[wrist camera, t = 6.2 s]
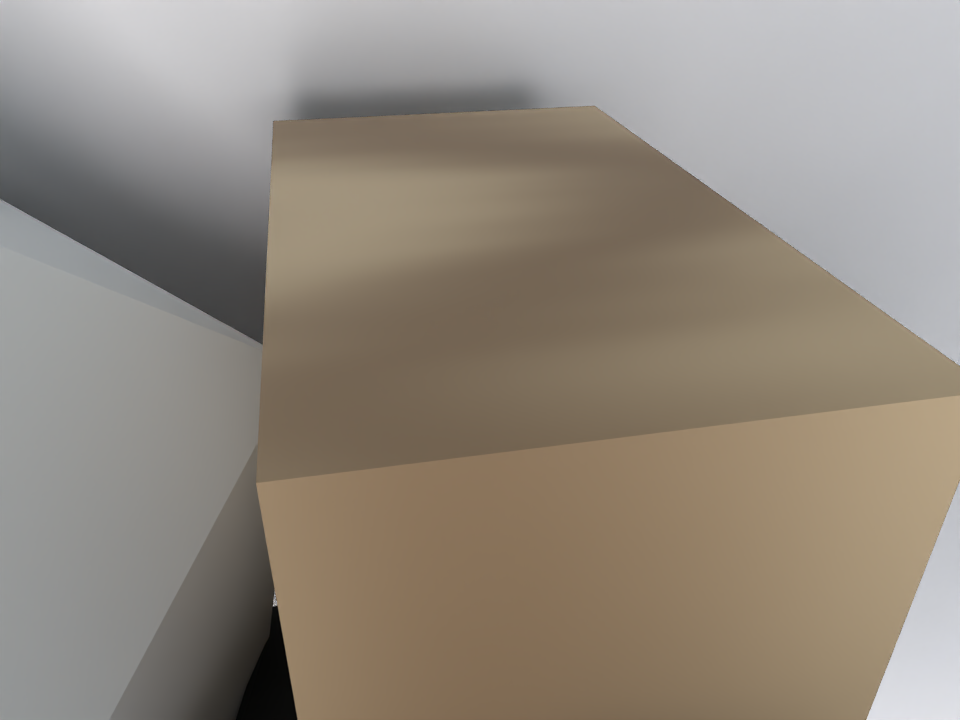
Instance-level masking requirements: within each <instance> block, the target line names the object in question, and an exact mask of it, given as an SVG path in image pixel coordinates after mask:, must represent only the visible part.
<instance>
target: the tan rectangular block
mask: <svg viewBox="0 0 960 720" xmlns="http://www.w3.org/2000/svg"><path fill="white" fill-rule="evenodd" d="M959 481H960V366H959V365H957V364H956V363H955V362H953V361H952V360H950V359H949V358H948V357H946V356H945V355H943V354H942V353H941V352H939V351H938V350H936V349H935V348H934V347H932V346H931V345H929V344H928V343H927V342H925V341H924V340H922V339H921V338H920V337H918V336H917V335H915V334H914V333H913V332H911V331H910V330H908V329H907V328H906V327H904V326H903V325H901V324H900V323H899V322H897V321H896V320H894V319H893V318H892V317H890V316H889V315H887V314H886V313H885V312H883V311H882V310H880V309H879V308H877V307H876V306H875V305H873V304H872V303H870V302H869V301H868V300H866V299H865V298H863V297H862V296H861V295H859V294H858V293H856V292H855V291H854V290H852V289H851V288H849V287H848V286H847V285H845V284H844V283H842V282H841V281H840V280H838V279H837V278H835V277H834V276H833V275H831V274H830V273H828V272H827V271H826V270H824V269H823V268H821V267H820V266H819V265H817V264H816V263H814V262H813V261H812V260H810V259H809V258H807V257H806V256H805V255H803V254H802V253H800V252H799V251H798V250H796V249H795V248H793V247H792V246H791V245H789V244H788V243H786V242H785V241H783V240H782V239H781V238H779V237H778V236H776V235H775V234H774V233H772V232H771V231H769V230H768V229H767V228H765V227H764V226H762V225H761V224H760V223H758V222H757V221H755V220H754V219H753V218H751V217H750V216H748V215H747V214H746V213H744V212H743V211H741V210H740V209H739V208H737V207H736V206H734V205H733V204H732V203H730V202H729V201H727V200H726V199H725V198H723V197H722V196H720V195H719V194H718V193H716V192H715V191H713V190H712V189H711V188H709V187H708V186H706V185H705V184H704V183H702V182H701V181H699V180H698V179H697V178H695V177H694V176H692V175H691V174H689V173H688V172H687V171H685V170H684V169H682V168H681V167H680V166H678V165H677V164H675V163H674V162H673V161H671V160H670V159H668V158H667V157H666V156H664V155H663V154H661V153H660V152H659V151H657V150H656V149H654V148H653V147H652V146H650V145H649V144H647V143H646V142H645V141H643V140H642V139H640V138H639V137H638V136H636V135H635V134H633V133H632V132H631V131H629V130H628V129H626V128H625V127H624V126H622V125H621V124H619V123H618V122H617V121H615V120H614V119H612V118H611V117H610V116H608V115H607V114H605V113H604V112H603V111H601V110H600V109H598V108H597V107H595V106H582V107H561V108H539V109H518V110H497V111H475V112H454V113H433V114H412V115H390V116H369V117H348V118H326V119H305V120H284V121H273V140H272V161H271V182H270V202H269V223H268V244H267V264H266V285H265V306H264V326H263V347H262V368H261V388H260V409H259V430H258V450H257V471H256V486H257V492H258V498H259V503H260V509H261V515H262V520H263V526H264V532H265V537H266V543H267V549H268V554H269V560H270V566H271V571H272V577H273V583H274V588H275V594H276V600H277V605H278V611H279V617H280V622H281V628H282V634H283V639H284V645H285V651H286V657H287V662H288V668H289V674H290V679H291V685H292V691H293V696H294V702H295V708H296V713H297V719H298V720H866V719H867V716H868V714H869V711H870V709H871V706H872V704H873V701H874V698H875V696H876V693H877V691H878V688H879V686H880V683H881V681H882V678H883V675H884V673H885V670H886V668H887V665H888V663H889V660H890V657H891V655H892V652H893V650H894V647H895V645H896V642H897V640H898V637H899V634H900V632H901V629H902V627H903V624H904V622H905V619H906V617H907V614H908V611H909V609H910V606H911V604H912V601H913V599H914V596H915V593H916V591H917V588H918V586H919V583H920V581H921V578H922V576H923V573H924V570H925V568H926V565H927V563H928V560H929V558H930V555H931V552H932V550H933V547H934V545H935V542H936V540H937V537H938V535H939V532H940V529H941V527H942V524H943V522H944V519H945V517H946V514H947V512H948V509H949V506H950V504H951V501H952V499H953V496H954V494H955V491H956V488H957V486H958V483H959Z"/></svg>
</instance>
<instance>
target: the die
mask: <svg viewBox="0 0 960 720" xmlns="http://www.w3.org/2000/svg"><path fill="white" fill-rule="evenodd" d="M262 347H263V345H262V344H261V343H259V342H257V341H255V340H253V339H252V338H250V337H248V336H246V335H244V334H243V333H241V332H239V331H237V330H235V329H234V328H232V327H230V326H228V325H226V324H225V323H223V322H221V321H219V320H217V319H216V318H214V317H212V316H210V315H208V314H207V313H205V312H203V311H201V310H199V309H198V308H196V307H194V306H192V305H190V304H189V303H187V302H185V301H183V300H181V299H180V298H178V297H176V296H174V295H172V294H171V293H169V292H167V291H165V290H163V289H162V288H160V287H158V286H156V285H154V284H153V283H151V282H149V281H147V280H145V279H144V278H142V277H140V276H138V275H136V274H134V273H133V272H131V271H129V270H127V269H125V268H124V267H122V266H120V265H118V264H116V263H115V262H113V261H111V260H109V259H107V258H106V257H104V256H102V255H100V254H98V253H97V252H95V251H93V250H91V249H89V248H88V247H86V246H84V245H82V244H80V243H79V242H77V241H75V240H73V239H71V238H70V237H68V236H66V235H64V234H62V233H61V232H59V231H57V230H55V229H53V228H52V227H50V226H48V225H46V224H44V223H43V222H41V221H39V220H37V219H35V218H34V217H32V216H30V215H28V214H26V213H25V212H23V211H21V210H19V209H17V208H16V207H14V206H12V205H10V204H8V203H7V202H5V201H3V200H1V199H0V720H236V717H237V714H238V711H239V708H240V705H241V702H242V699H243V695H244V692H245V689H246V686H247V684H248V682H249V679H250V677H251V675H252V673H253V670H254V668H255V666H256V663H257V661H258V659H259V657H260V654H261V652H262V650H263V647H264V645H265V643H266V641H267V640H268V638H269V634H270V625H271V616H272V607H273V598H274V589H275V588H274V583H273V577H272V571H271V566H270V560H269V554H268V549H267V543H266V537H265V532H264V526H263V520H262V515H261V509H260V503H259V498H258V492H257V486H256V471H257V450H258V430H259V409H260V388H261V368H262Z"/></svg>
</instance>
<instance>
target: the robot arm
mask: <svg viewBox="0 0 960 720" xmlns="http://www.w3.org/2000/svg"><path fill="white" fill-rule="evenodd" d="M236 720H298V719H297V713H296V708H295V702H294V696H293V691H292V685H291V679H290V674H289V668H288V662H287V657H286V651H285V645H284V639H283V634H282V628H281V622H280V617H279V611H278V606H274V607H272V616H271V625H270V634H269V638H268V640H267V641H266V643H265V645H264V647H263V650H262V652H261V654H260V657H259V659H258V661H257V663H256V666H255V668H254V670H253V673H252V675H251V677H250V679H249V682H248V684H247V686H246V689H245V692H244V695H243V699H242V702H241V705H240V708H239V711H238V714H237V717H236Z"/></svg>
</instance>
